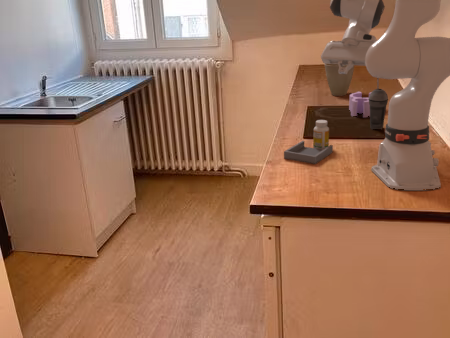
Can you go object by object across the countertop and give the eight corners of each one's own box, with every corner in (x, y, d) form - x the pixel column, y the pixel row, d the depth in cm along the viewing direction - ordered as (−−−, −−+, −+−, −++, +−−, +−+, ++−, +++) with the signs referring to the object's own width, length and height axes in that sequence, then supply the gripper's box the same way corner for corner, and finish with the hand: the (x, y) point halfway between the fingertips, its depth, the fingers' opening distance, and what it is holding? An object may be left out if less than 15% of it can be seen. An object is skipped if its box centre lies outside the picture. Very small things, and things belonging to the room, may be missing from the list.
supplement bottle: (315, 150, 163) (316, 124, 159) (311, 145, 168) (311, 120, 164) (330, 149, 163) (331, 122, 160) (326, 144, 168) (326, 118, 165)
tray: (302, 147, 167) (302, 140, 166) (332, 152, 160) (332, 145, 159) (284, 158, 157) (283, 151, 156) (315, 164, 150) (315, 156, 149)
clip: (374, 118, 197) (375, 102, 194) (344, 117, 201) (345, 101, 199) (379, 106, 214) (380, 92, 211) (351, 106, 219) (352, 91, 216)
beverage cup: (373, 131, 179) (376, 80, 171) (363, 127, 185) (365, 76, 178) (390, 129, 180) (393, 77, 173) (379, 124, 187) (382, 74, 180)
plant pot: (351, 90, 248) (352, 60, 242) (355, 96, 234) (357, 65, 228) (322, 91, 250) (323, 61, 244) (325, 98, 236) (326, 66, 230)
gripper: (325, 35, 174) (313, 66, 170) (379, 36, 162) (367, 69, 159) (330, 46, 179) (318, 76, 175) (383, 47, 167) (371, 80, 164)
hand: (342, 73), depth 167 cm, fingers closed
